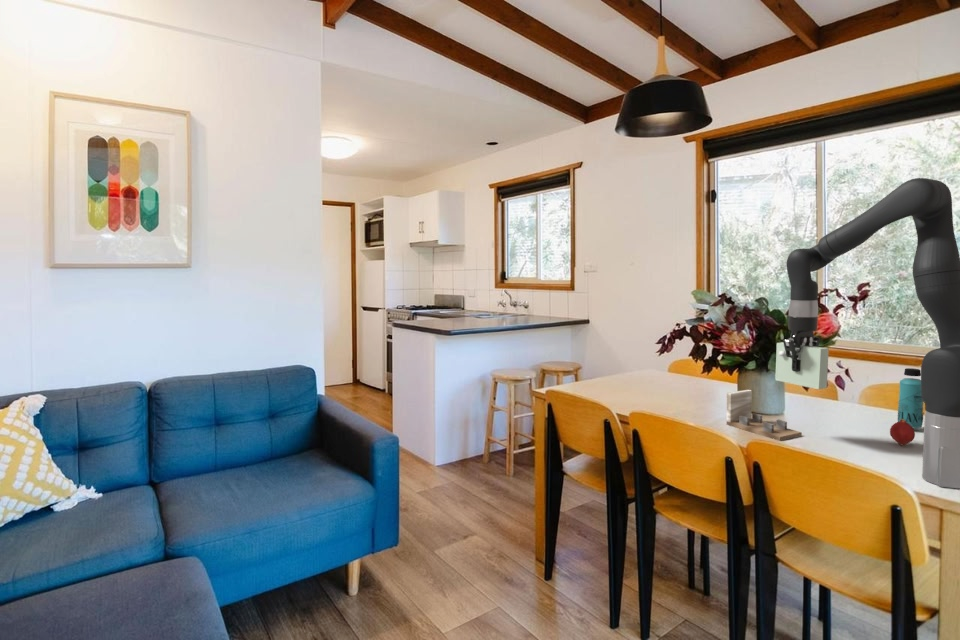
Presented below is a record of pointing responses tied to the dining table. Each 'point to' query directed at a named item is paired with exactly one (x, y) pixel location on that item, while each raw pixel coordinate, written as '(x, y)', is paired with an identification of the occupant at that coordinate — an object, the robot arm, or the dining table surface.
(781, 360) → the door
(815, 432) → the dining table surface
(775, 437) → the cabinet frame
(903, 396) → the beverage bottle
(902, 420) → the onion
